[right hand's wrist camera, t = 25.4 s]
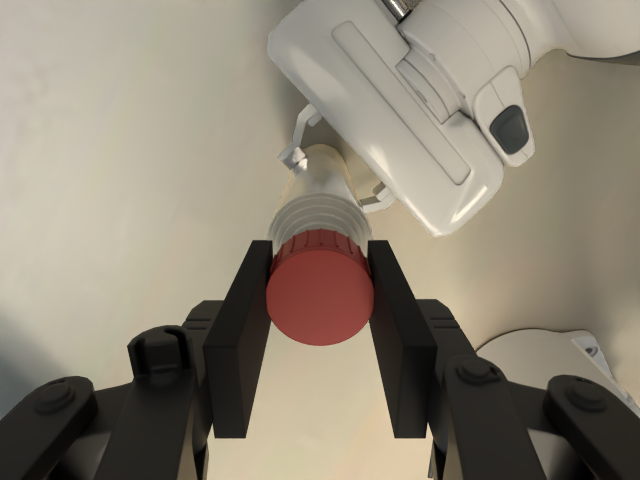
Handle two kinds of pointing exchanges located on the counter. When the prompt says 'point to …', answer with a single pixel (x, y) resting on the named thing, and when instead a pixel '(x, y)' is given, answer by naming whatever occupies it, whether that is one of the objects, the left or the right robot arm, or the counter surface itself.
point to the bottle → (320, 200)
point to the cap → (320, 288)
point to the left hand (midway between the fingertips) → (312, 191)
